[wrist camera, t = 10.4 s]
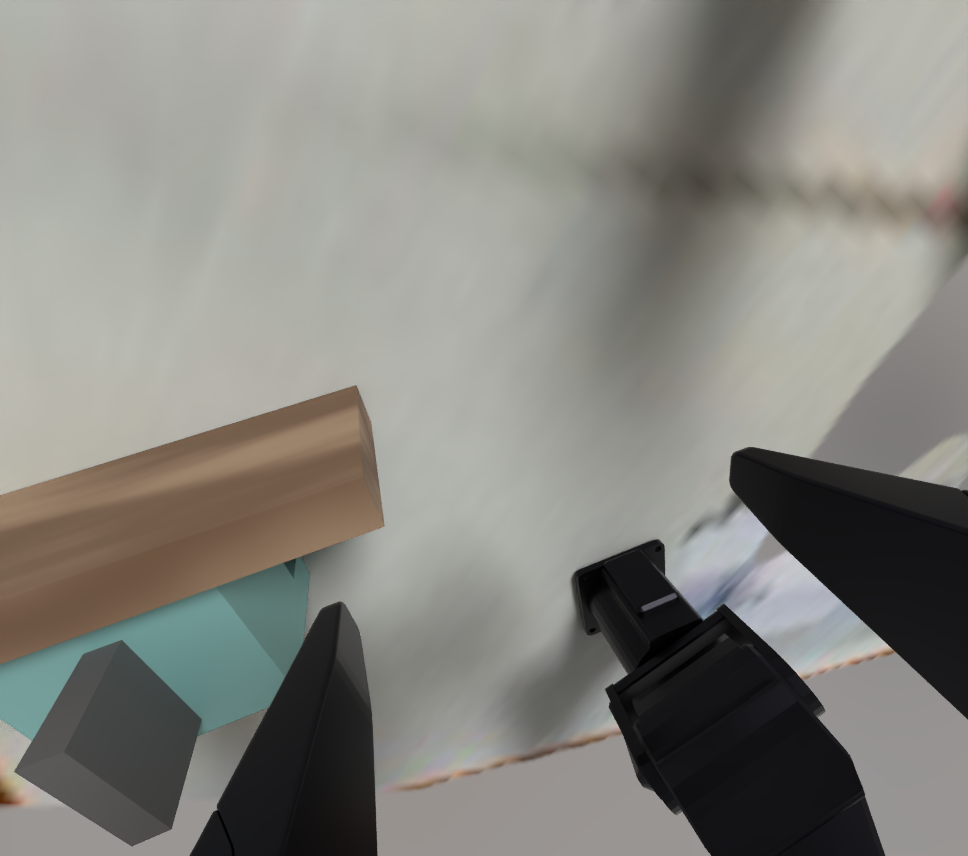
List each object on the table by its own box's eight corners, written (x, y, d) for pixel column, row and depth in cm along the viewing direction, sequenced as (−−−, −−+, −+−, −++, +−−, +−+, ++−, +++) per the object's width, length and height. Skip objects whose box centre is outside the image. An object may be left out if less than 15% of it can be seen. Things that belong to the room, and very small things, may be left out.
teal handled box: (309, 572, 24) (289, 793, 15) (155, 629, 23) (32, 905, 14) (252, 475, 21) (181, 682, 12) (69, 536, 20) (-166, 817, 11)
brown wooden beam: (400, 497, 23) (424, 617, 16) (-16, 643, 21) (-197, 862, 14) (356, 385, 20) (363, 477, 13) (-144, 540, 17) (-466, 759, 10)
